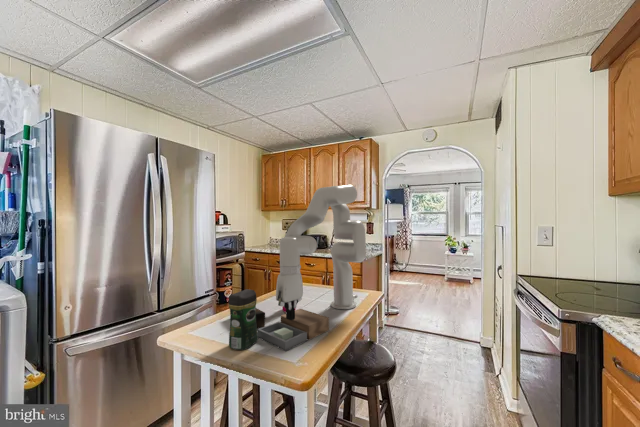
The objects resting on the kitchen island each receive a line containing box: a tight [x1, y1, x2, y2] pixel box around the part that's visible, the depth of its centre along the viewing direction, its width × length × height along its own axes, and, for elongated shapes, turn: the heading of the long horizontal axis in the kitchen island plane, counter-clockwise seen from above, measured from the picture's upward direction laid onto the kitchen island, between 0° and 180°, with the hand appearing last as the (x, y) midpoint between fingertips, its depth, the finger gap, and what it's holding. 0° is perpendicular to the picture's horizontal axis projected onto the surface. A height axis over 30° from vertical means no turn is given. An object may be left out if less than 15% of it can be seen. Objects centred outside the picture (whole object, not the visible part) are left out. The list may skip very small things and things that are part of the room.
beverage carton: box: [256, 307, 266, 329], centre depth 114 cm, size 8×19×7 cm, turn 38°
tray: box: [257, 321, 308, 352], centre depth 97 cm, size 10×16×3 cm, turn 47°
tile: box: [274, 328, 293, 340], centre depth 98 cm, size 5×5×2 cm
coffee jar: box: [227, 288, 259, 351], centre depth 94 cm, size 10×8×19 cm
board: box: [280, 308, 330, 341], centre depth 106 cm, size 11×16×5 cm
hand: (290, 318), depth 100 cm, fingers closed
